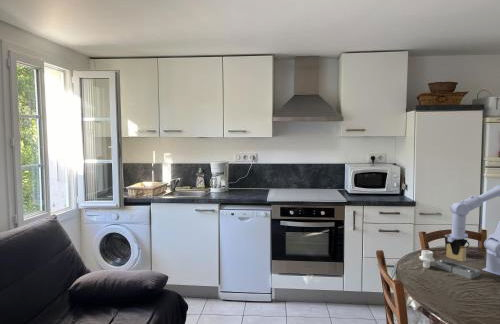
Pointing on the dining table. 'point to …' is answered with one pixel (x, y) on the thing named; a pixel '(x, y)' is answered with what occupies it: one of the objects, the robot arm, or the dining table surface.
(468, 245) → the coffee mug
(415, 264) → the dining table surface
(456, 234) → the robot arm
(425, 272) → the dining table surface
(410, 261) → the dining table surface
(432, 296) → the dining table surface
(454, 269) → the grey slotted frame
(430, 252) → the pipe fitting
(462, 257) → the gold bar with studs
